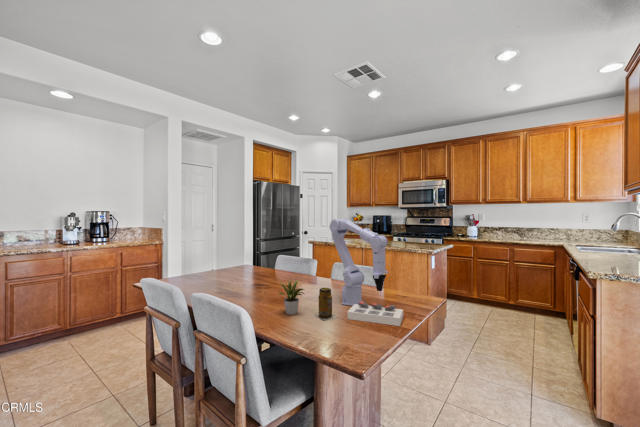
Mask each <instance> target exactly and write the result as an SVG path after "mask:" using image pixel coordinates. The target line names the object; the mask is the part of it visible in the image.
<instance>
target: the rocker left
mask: <svg viewBox="0 0 640 427" xmlns="http://www.w3.org/2000/svg"><path fill="white" fill-rule="evenodd" d="M358 305H359V306H362V307H365V308H367V307H368V306H370V305H369V303H367V302H365V301H364V302H361V301H360V302H359V304H358Z"/></svg>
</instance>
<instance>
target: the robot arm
mask: <svg viewBox="0 0 640 427" xmlns="http://www.w3.org/2000/svg"><path fill="white" fill-rule="evenodd" d="M329 230H330V233H331V237H332V241H333V244H334V246H335V249H336V250H337V254H338V255H339V258H340V261H341V263H342V266H343V269H344V270H343V272H342V276H343V283H344V284H345V285H343V286H342V289H341V290H342V291H341V299H342V300H341V301H342V302H341V305H343V306H351V307H352V306H353V305H354V304H359V302H360V301H361V302H364V303H365V301H364V300H362V296H363V294H362V286H363V283H364V281H365V274H364V273H363V272H362V271H361V269H360V268H359V267H357V265H355V263H354V261H353V260H354V259H353V258H352V256H351V253H350V251H349V250H350V249H348V246H347V244H346V241H345V238H344V237H345V236H346V234H347V232H348V231H351V232H352V233H355V234H357V235H358V236H359V238H360V240H362V241H364V242H366V243H368V244H370V247H371V250H372V274H373V275H372V279H373V281H374V284H375V288H376V291H377V292H382V291H383V287H384V284H385V279H386V277H387V274H389V271H388V270H387V269H386V246H388V244H389V243H388V238H387V237H386V236H385V235H384V234H381V235H379V233H378V232H374V231H372V230H371V228H369V227H368V228H367V227H365V228H362V227H361V226H359V225H357V224H356V223H354V222H352V220H350V219H348V218H337V219H336V218H333V219H331V221H330V223H329Z"/></svg>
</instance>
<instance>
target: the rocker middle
mask: <svg viewBox="0 0 640 427" xmlns="http://www.w3.org/2000/svg"><path fill="white" fill-rule="evenodd" d="M371 306H372V307H374V308H375V309H381V308H382V307H383V305H382V304H379V303H375V302H373V303H372V304H371Z"/></svg>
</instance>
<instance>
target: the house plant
mask: <svg viewBox="0 0 640 427" xmlns="http://www.w3.org/2000/svg"><path fill="white" fill-rule="evenodd" d="M292 279H293V278H292V277H291V278H290V281H289V280H287V283H286V281H284V282H285V284H284V283H283V282H282V281H280V282H277V285H278V284H279V285H280V286H281V287H282V288H283V289H284V291H285V293H286V295H285V293H284V292H282V291H281V292H279V293H278V295H280V296H285V297H286V298H285V297H284V298H283V303H284V308H285V309H284V310H285V314H286V315H290V316H293V315H296V314H297V313H298V310H299V303H300V302H299V301H300V299H299V298H298V297H297V296H303V295H305V292H301V291H304V288H301V287H300V288H299V284H298V281H299V280H300V279H299V278H298V279H296V281H294V283H293V284H292ZM301 284H304V281H303V282H302V281H301V283H300V285H301ZM302 294H303V295H302Z"/></svg>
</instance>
